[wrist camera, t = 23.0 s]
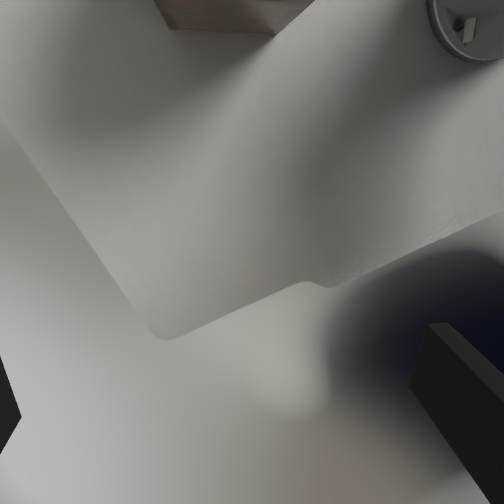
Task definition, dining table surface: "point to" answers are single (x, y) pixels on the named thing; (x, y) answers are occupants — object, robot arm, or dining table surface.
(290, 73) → the dining table surface
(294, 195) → the dining table surface
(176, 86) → the dining table surface
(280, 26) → the box
